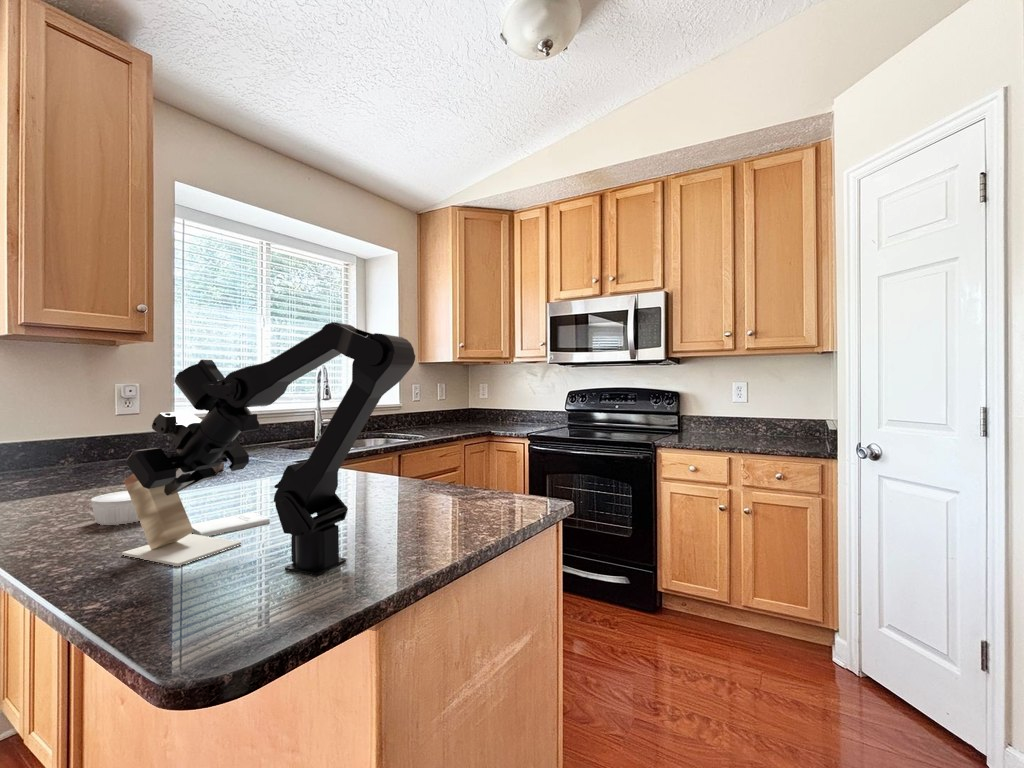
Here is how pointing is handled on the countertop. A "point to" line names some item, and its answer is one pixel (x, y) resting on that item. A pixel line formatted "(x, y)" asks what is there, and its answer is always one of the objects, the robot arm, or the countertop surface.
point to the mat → (182, 550)
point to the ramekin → (114, 509)
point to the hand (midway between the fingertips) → (167, 493)
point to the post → (158, 513)
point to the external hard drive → (229, 524)
